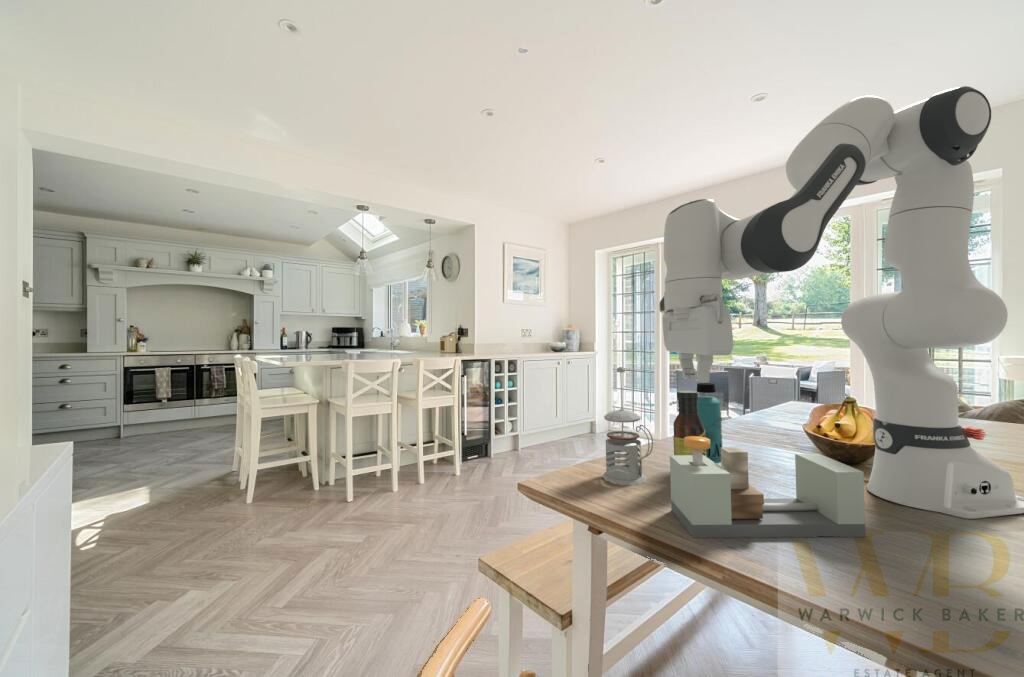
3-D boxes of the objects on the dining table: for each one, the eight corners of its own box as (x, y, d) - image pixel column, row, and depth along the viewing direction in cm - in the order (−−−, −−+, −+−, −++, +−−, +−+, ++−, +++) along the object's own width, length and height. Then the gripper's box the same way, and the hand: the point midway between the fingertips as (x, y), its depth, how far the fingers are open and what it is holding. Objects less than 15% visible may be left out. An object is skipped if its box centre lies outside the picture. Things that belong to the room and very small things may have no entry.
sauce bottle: (711, 492, 82) (708, 393, 82) (678, 491, 83) (675, 393, 83) (702, 481, 88) (700, 389, 88) (672, 480, 89) (669, 389, 89)
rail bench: (819, 509, 73) (818, 453, 73) (865, 536, 63) (863, 472, 63) (671, 510, 74) (669, 455, 74) (692, 537, 64) (691, 474, 64)
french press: (615, 467, 99) (612, 364, 99) (662, 478, 91) (659, 366, 91) (593, 478, 92) (590, 367, 92) (641, 491, 84) (638, 369, 84)
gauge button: (705, 471, 71) (704, 436, 71) (715, 479, 67) (714, 441, 67) (681, 471, 71) (680, 436, 71) (690, 480, 67) (689, 442, 67)
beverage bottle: (697, 470, 95) (695, 384, 95) (690, 461, 102) (687, 381, 102) (727, 470, 94) (725, 384, 94) (718, 461, 101) (715, 381, 101)
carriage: (738, 499, 72) (737, 443, 72) (764, 519, 64) (762, 456, 64) (710, 499, 73) (708, 443, 73) (731, 519, 65) (729, 456, 65)
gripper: (743, 291, 58) (746, 387, 58) (689, 303, 79) (691, 374, 79) (698, 292, 59) (701, 388, 59) (656, 304, 79) (658, 375, 79)
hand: (695, 380), depth 69 cm, fingers open, 4 cm apart
